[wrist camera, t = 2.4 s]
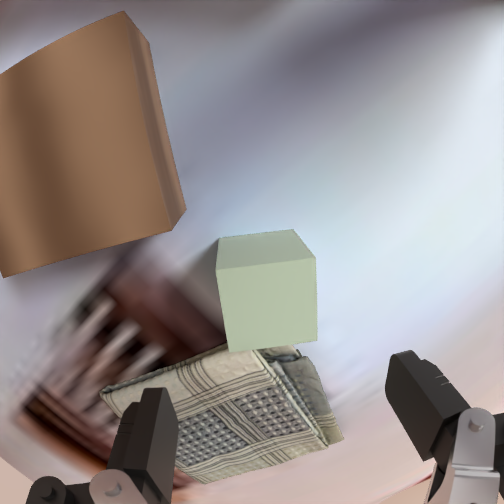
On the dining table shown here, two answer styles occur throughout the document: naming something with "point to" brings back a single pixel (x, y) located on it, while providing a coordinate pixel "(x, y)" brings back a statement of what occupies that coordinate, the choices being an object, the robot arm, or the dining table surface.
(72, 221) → the walnut base
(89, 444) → the dining table surface
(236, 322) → the sage block
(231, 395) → the dish towel
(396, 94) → the dining table surface
